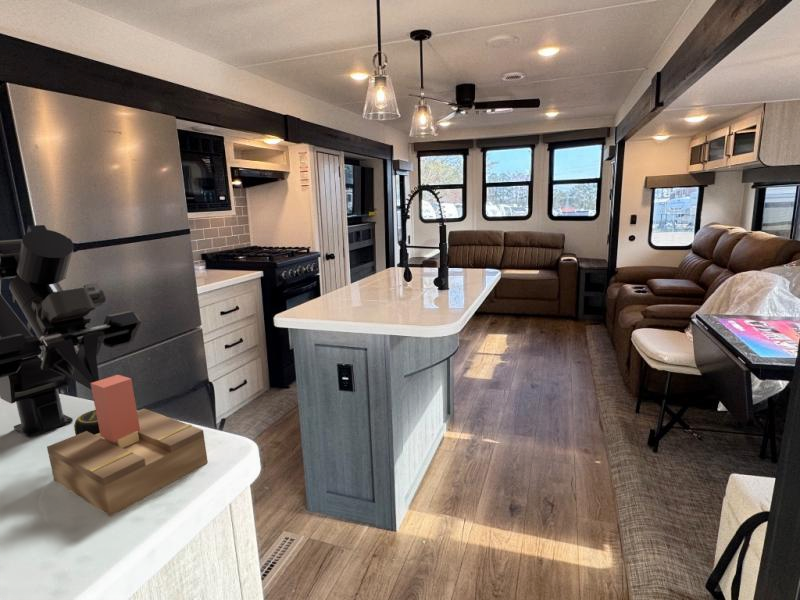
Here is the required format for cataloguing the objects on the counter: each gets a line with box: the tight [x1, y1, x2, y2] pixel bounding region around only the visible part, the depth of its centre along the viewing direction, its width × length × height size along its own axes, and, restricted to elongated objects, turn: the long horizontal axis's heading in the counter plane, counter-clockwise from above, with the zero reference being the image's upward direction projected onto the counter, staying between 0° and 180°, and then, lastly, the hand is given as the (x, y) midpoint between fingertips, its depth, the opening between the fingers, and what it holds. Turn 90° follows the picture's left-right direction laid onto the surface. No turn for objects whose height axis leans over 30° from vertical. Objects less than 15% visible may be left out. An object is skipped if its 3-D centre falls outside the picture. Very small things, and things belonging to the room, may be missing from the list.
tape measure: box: [73, 409, 100, 435], centre depth 73 cm, size 7×7×4 cm
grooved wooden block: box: [46, 408, 209, 517], centre depth 62 cm, size 15×13×5 cm
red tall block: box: [91, 374, 140, 448], centre depth 62 cm, size 4×4×9 cm
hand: (95, 387), depth 64 cm, fingers closed
